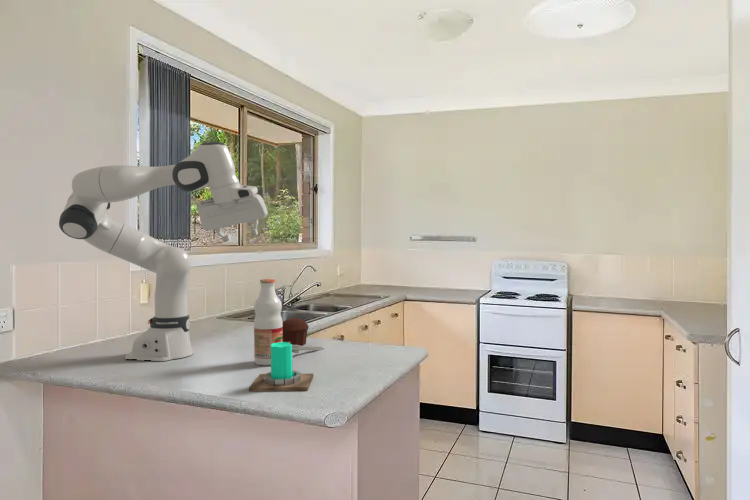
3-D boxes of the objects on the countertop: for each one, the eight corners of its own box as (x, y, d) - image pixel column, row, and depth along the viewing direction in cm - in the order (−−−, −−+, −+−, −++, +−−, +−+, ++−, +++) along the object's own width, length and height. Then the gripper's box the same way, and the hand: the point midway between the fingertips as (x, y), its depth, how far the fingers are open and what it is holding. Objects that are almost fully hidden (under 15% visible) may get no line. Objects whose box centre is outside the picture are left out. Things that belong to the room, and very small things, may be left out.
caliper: (285, 360, 179) (284, 342, 179) (282, 360, 180) (282, 342, 179) (324, 349, 196) (324, 333, 195) (321, 349, 196) (321, 332, 196)
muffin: (306, 340, 212) (306, 315, 211) (312, 346, 201) (311, 320, 201) (276, 342, 208) (276, 317, 207) (281, 348, 197) (280, 322, 197)
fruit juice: (254, 360, 179) (253, 278, 178) (282, 358, 181) (281, 277, 180) (254, 367, 170) (253, 281, 169) (283, 365, 172) (282, 280, 171)
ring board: (249, 391, 143) (249, 387, 143) (260, 377, 157) (260, 374, 157) (307, 390, 143) (307, 387, 143) (313, 376, 157) (313, 373, 157)
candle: (272, 378, 153) (271, 337, 152) (292, 377, 153) (292, 336, 153) (270, 383, 147) (269, 341, 146) (292, 383, 147) (291, 340, 147)
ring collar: (260, 385, 145) (260, 379, 145) (268, 375, 156) (268, 370, 156) (298, 385, 145) (298, 379, 145) (303, 375, 156) (303, 369, 156)
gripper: (191, 203, 156) (205, 247, 159) (256, 188, 154) (269, 233, 157) (198, 200, 162) (212, 242, 165) (261, 185, 160) (274, 228, 163)
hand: (240, 238), depth 161 cm, fingers open, 8 cm apart
